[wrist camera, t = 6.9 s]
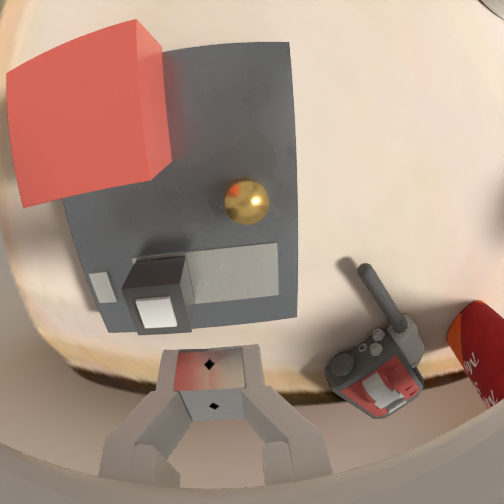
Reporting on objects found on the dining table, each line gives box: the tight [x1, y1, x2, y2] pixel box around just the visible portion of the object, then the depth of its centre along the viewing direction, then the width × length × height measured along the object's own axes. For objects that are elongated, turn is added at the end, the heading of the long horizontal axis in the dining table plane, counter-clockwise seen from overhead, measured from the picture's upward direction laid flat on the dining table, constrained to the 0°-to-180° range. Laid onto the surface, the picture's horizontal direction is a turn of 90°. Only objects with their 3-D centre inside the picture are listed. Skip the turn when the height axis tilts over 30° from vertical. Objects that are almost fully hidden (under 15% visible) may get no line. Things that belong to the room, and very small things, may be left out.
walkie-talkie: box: [325, 263, 425, 419], centre depth 21 cm, size 9×4×20 cm
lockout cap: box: [6, 19, 172, 208], centre depth 9 cm, size 6×6×4 cm
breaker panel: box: [62, 42, 298, 333], centre depth 14 cm, size 15×12×3 cm
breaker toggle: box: [121, 257, 195, 335], centre depth 14 cm, size 3×3×3 cm
